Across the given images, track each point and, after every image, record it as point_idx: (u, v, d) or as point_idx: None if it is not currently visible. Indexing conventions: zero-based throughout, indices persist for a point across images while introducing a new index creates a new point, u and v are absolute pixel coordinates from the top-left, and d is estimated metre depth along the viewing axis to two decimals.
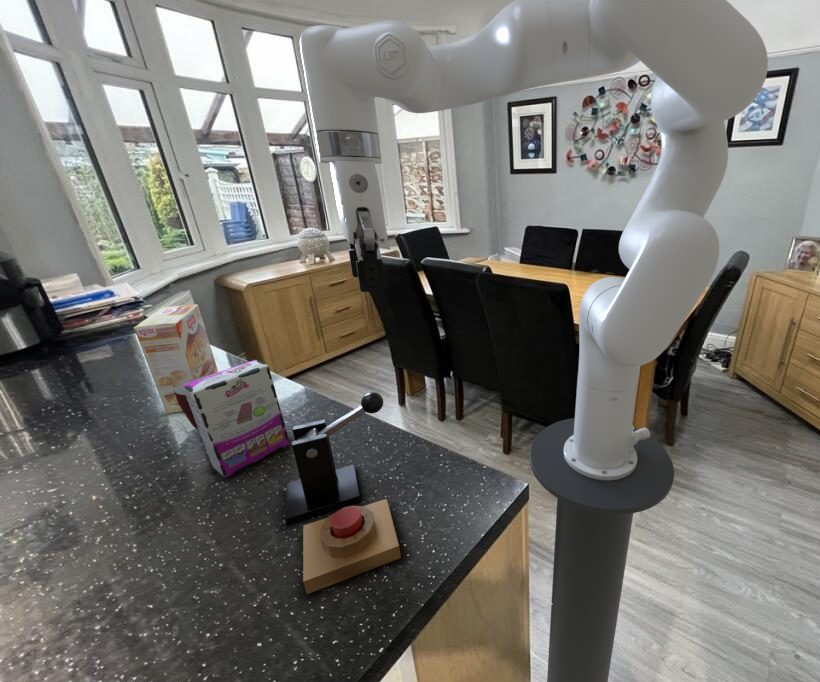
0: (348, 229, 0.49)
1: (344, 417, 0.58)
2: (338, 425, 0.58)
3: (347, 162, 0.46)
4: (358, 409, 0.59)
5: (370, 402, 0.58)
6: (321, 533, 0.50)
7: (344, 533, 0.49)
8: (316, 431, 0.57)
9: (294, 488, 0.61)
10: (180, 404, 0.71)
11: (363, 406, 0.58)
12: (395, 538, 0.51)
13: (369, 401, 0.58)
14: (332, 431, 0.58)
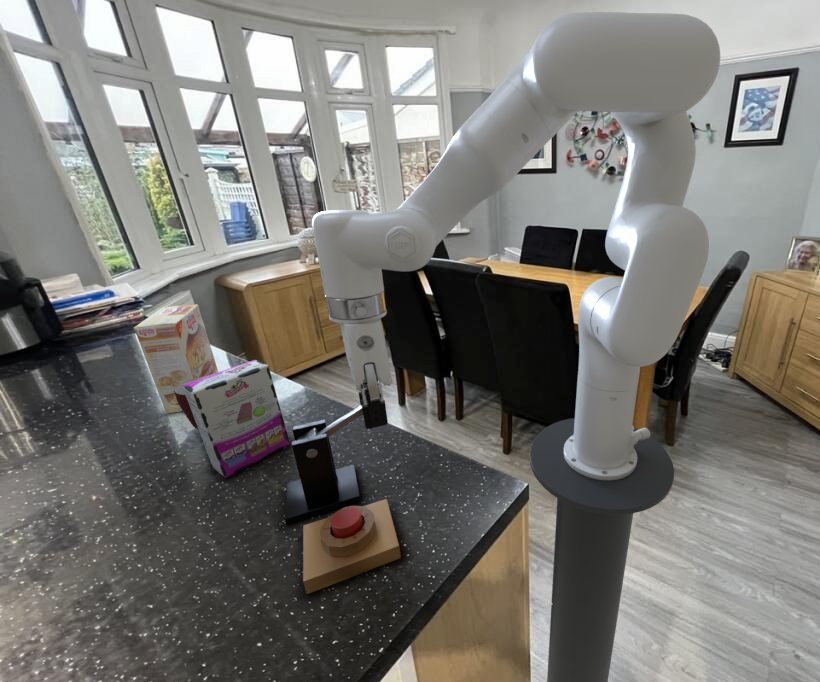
0: (356, 381, 0.52)
1: (344, 417, 0.58)
2: (338, 425, 0.58)
3: (355, 326, 0.50)
4: (358, 409, 0.59)
5: None
6: (321, 533, 0.50)
7: (344, 533, 0.49)
8: (316, 431, 0.57)
9: (294, 488, 0.61)
10: (180, 404, 0.71)
11: None
12: (395, 538, 0.51)
13: None
14: (332, 431, 0.58)
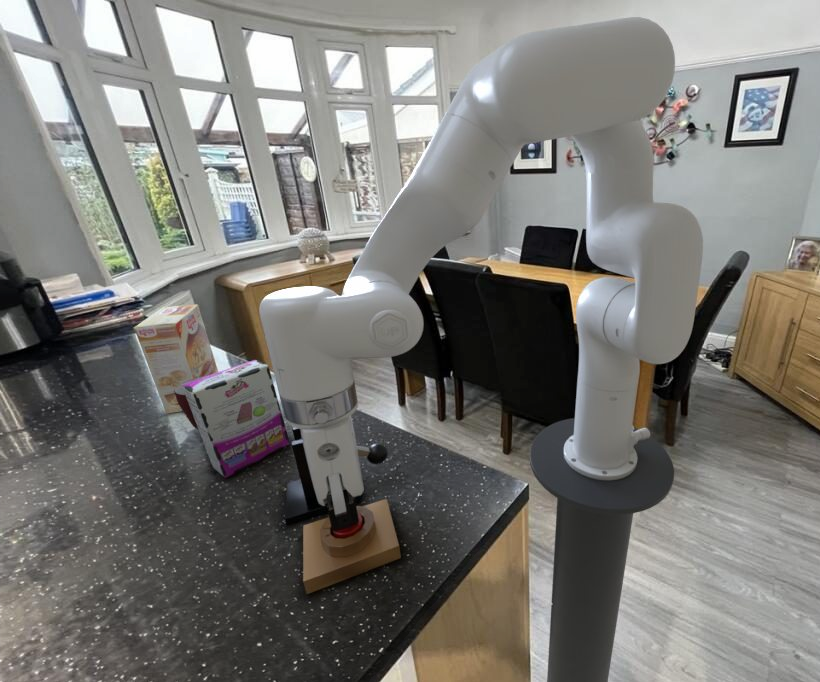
0: (317, 496, 0.42)
1: None
2: None
3: (315, 433, 0.40)
4: (366, 450, 0.61)
5: (381, 453, 0.62)
6: (321, 533, 0.50)
7: None
8: None
9: (294, 488, 0.61)
10: (180, 404, 0.71)
11: (372, 451, 0.61)
12: (395, 538, 0.51)
13: (381, 452, 0.62)
14: None
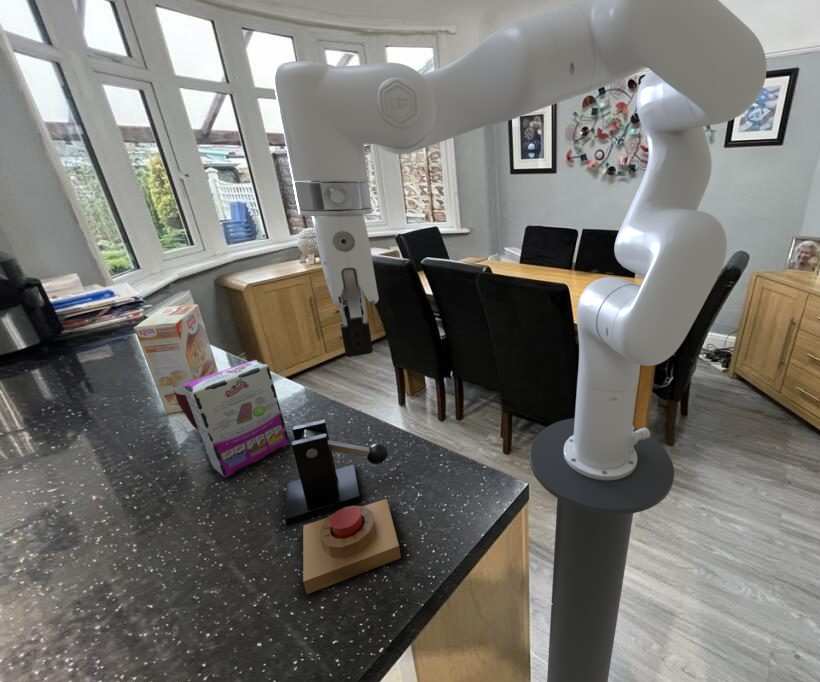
0: (332, 293, 0.42)
1: (351, 446, 0.60)
2: (342, 448, 0.59)
3: (330, 218, 0.40)
4: (366, 450, 0.61)
5: (381, 453, 0.62)
6: (321, 533, 0.50)
7: (344, 533, 0.49)
8: None
9: (294, 488, 0.61)
10: (180, 404, 0.71)
11: (372, 451, 0.61)
12: (395, 538, 0.51)
13: (381, 452, 0.62)
14: (333, 448, 0.59)
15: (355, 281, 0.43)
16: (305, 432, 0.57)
